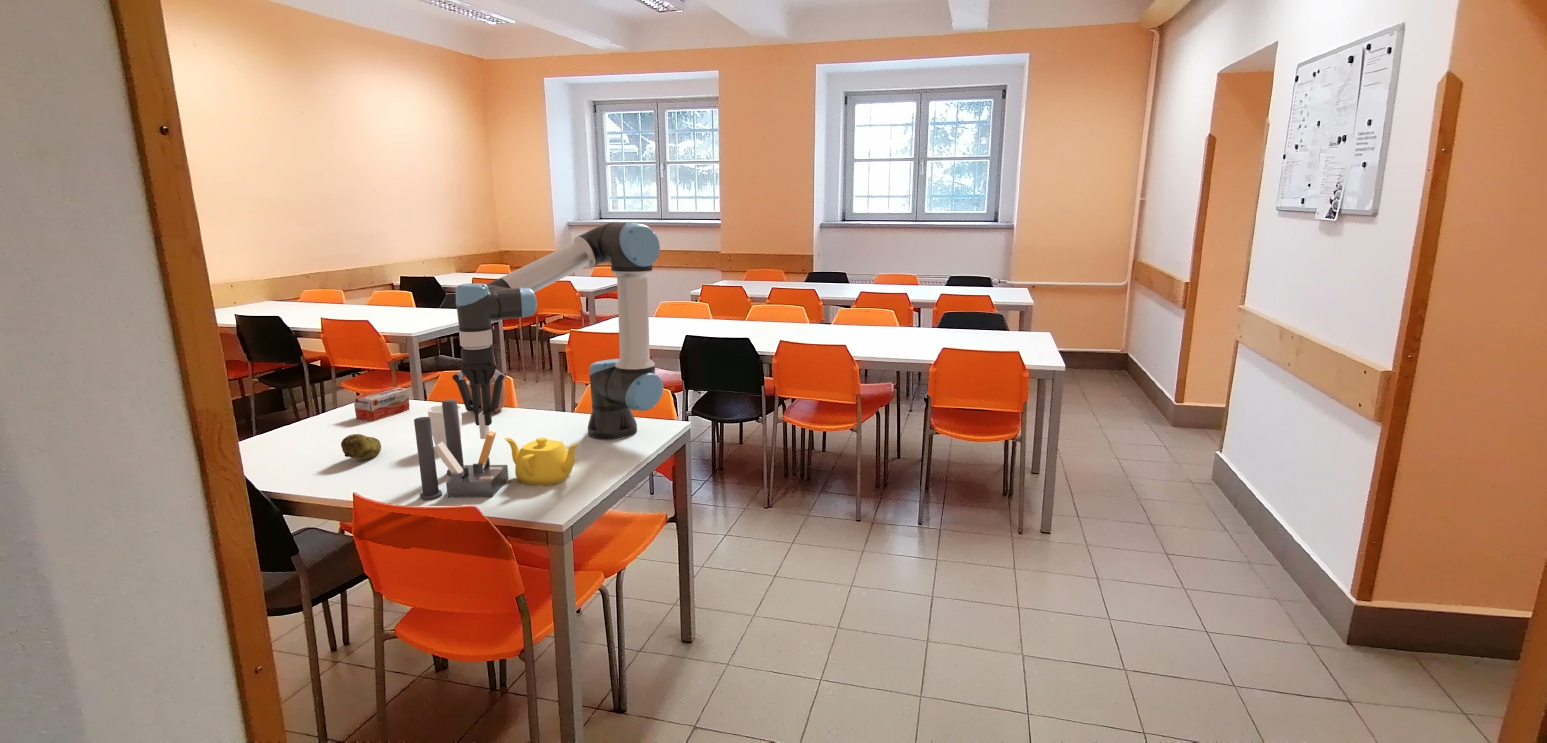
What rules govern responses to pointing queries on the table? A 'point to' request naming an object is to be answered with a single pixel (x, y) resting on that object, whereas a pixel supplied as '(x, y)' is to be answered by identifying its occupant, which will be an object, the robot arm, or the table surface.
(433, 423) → the cup
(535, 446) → the teapot
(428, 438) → the cable post
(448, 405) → the post
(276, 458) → the table surface
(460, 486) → the breaker panel
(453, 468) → the ivory paddle
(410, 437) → the table surface
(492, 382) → the planter
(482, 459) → the orange paddle
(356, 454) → the potato
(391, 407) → the medicine box
